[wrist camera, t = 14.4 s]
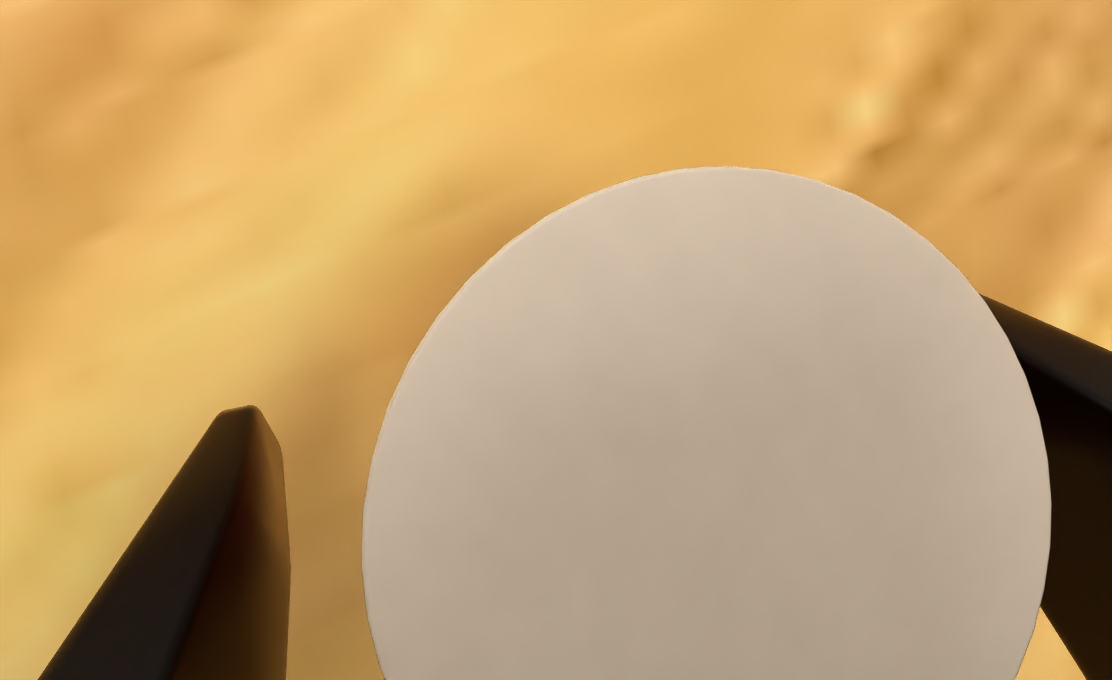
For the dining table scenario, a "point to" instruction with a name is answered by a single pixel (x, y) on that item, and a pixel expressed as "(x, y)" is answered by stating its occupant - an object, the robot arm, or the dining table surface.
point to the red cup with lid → (709, 452)
